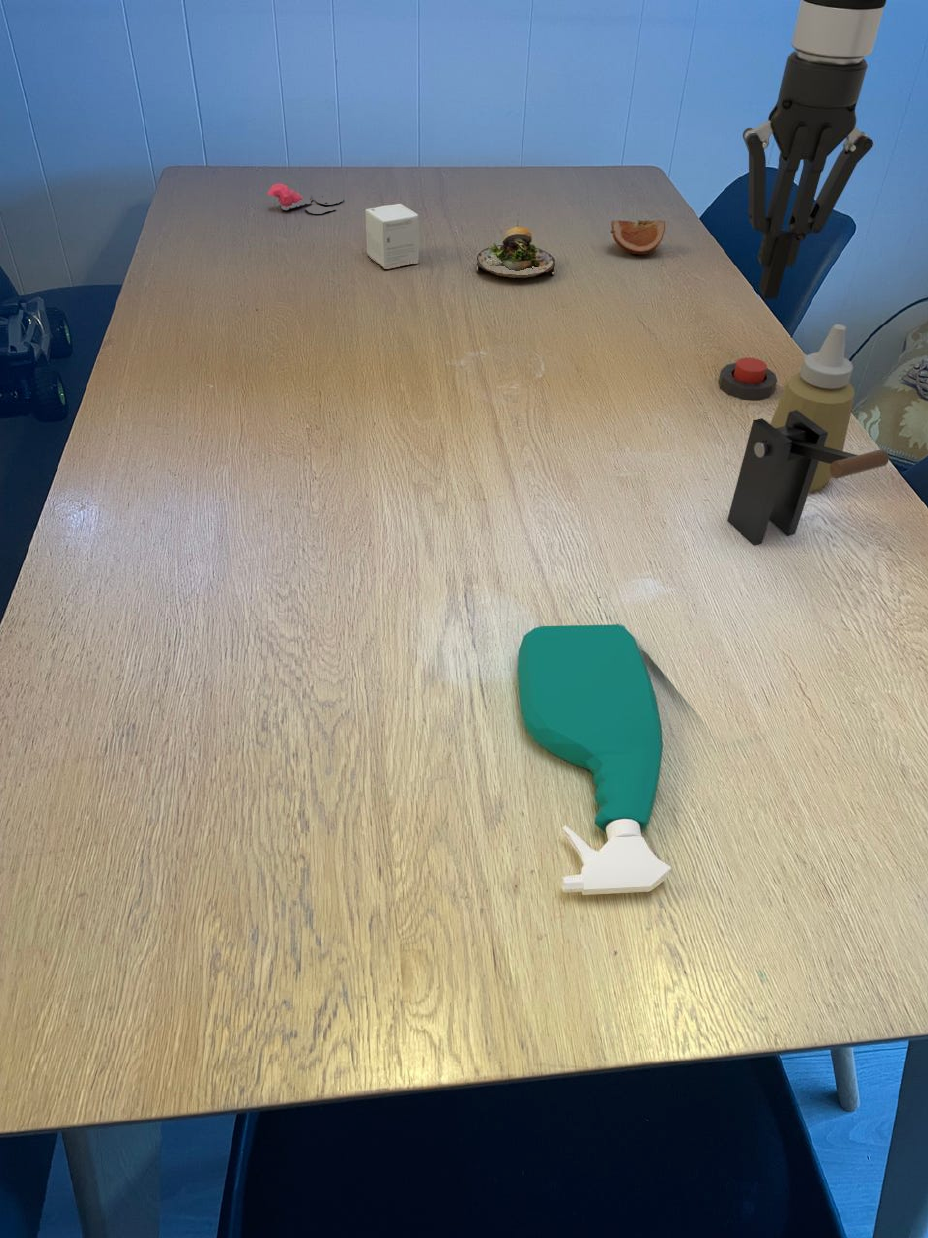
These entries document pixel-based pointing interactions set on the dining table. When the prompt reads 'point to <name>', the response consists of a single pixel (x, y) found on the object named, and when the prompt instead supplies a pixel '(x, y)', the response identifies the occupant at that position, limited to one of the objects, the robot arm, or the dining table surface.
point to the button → (750, 370)
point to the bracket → (773, 479)
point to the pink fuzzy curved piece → (284, 194)
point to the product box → (392, 234)
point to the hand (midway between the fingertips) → (767, 293)
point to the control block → (746, 385)
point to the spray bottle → (599, 742)
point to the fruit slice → (638, 235)
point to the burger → (516, 254)
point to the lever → (832, 455)
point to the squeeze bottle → (822, 396)
